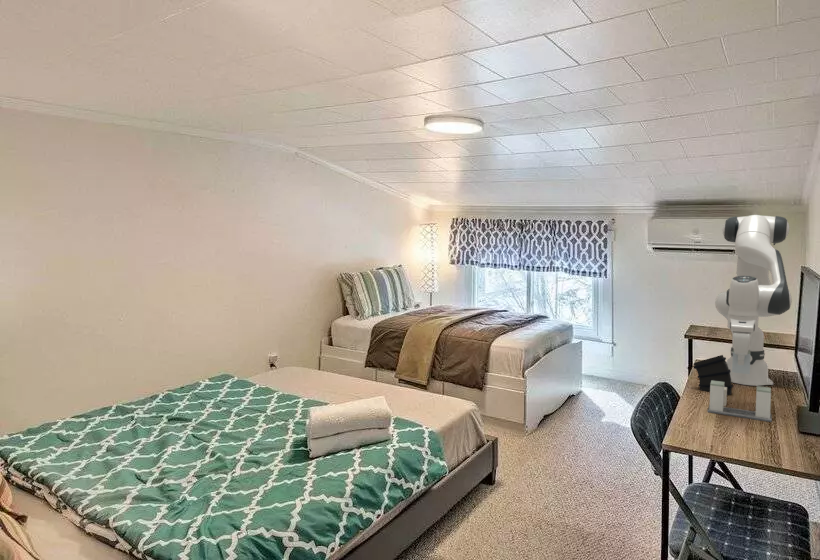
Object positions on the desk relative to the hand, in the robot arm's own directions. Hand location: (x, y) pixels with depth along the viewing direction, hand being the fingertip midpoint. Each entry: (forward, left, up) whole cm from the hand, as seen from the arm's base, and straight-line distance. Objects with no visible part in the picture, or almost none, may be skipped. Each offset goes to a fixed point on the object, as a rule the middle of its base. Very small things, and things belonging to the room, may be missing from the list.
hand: (741, 363), depth 177 cm
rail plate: (0, 0, -18) cm, 18 cm away
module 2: (0, 0, -3) cm, 3 cm away
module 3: (0, +7, -18) cm, 19 cm away
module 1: (0, -7, -18) cm, 19 cm away
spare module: (-10, -7, -18) cm, 22 cm away
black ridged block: (-26, -10, -18) cm, 33 cm away
